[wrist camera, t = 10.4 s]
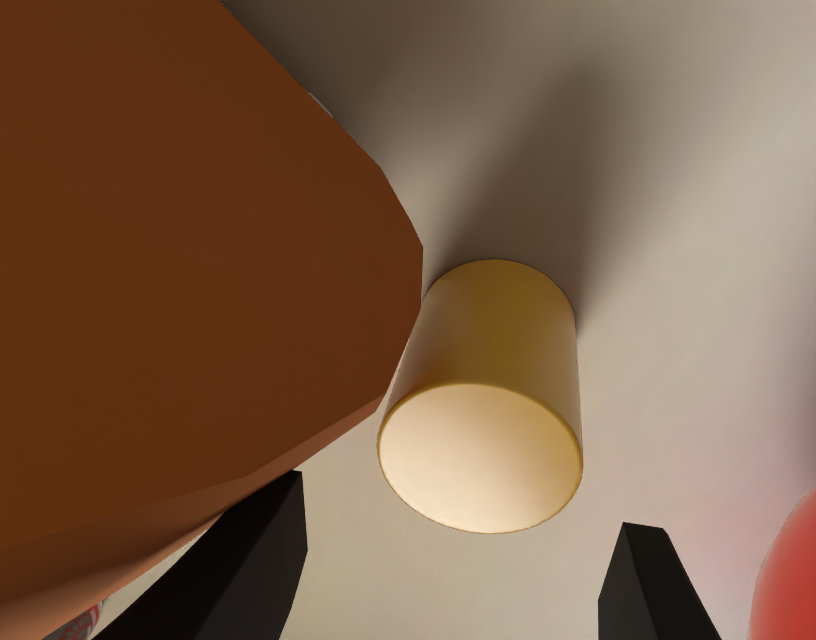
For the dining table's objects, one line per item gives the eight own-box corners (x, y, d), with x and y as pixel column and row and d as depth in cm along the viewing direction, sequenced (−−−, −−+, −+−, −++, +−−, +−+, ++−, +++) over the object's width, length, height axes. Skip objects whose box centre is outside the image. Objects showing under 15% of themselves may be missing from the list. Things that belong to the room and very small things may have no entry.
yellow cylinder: (589, 268, 16) (602, 398, 11) (561, 400, 18) (564, 550, 13) (423, 248, 16) (377, 365, 12) (415, 378, 18) (374, 517, 14)
